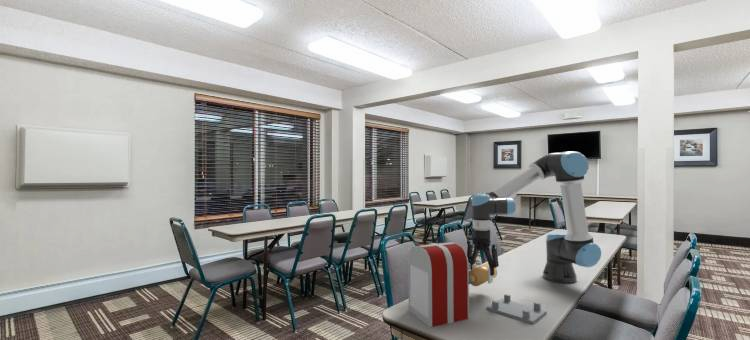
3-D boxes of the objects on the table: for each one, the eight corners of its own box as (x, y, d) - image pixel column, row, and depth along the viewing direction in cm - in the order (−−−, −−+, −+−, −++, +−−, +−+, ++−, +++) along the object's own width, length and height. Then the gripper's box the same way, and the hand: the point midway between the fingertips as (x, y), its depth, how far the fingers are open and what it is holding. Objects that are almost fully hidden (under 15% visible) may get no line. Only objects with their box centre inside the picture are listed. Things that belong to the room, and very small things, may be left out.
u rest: (486, 309, 133) (486, 300, 133) (501, 300, 142) (501, 292, 142) (533, 324, 120) (533, 314, 120) (546, 313, 129) (546, 304, 129)
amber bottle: (483, 277, 156) (482, 261, 156) (497, 279, 151) (496, 264, 151) (461, 287, 143) (459, 271, 143) (475, 290, 138) (474, 273, 138)
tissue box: (407, 309, 133) (407, 242, 134) (444, 302, 140) (444, 238, 140) (430, 327, 118) (429, 251, 118) (470, 318, 125) (469, 246, 125)
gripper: (457, 227, 153) (458, 277, 153) (498, 232, 139) (499, 288, 139) (466, 225, 158) (467, 273, 158) (506, 230, 144) (508, 283, 144)
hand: (482, 280), depth 149 cm, fingers closed on amber bottle, 7 cm apart
